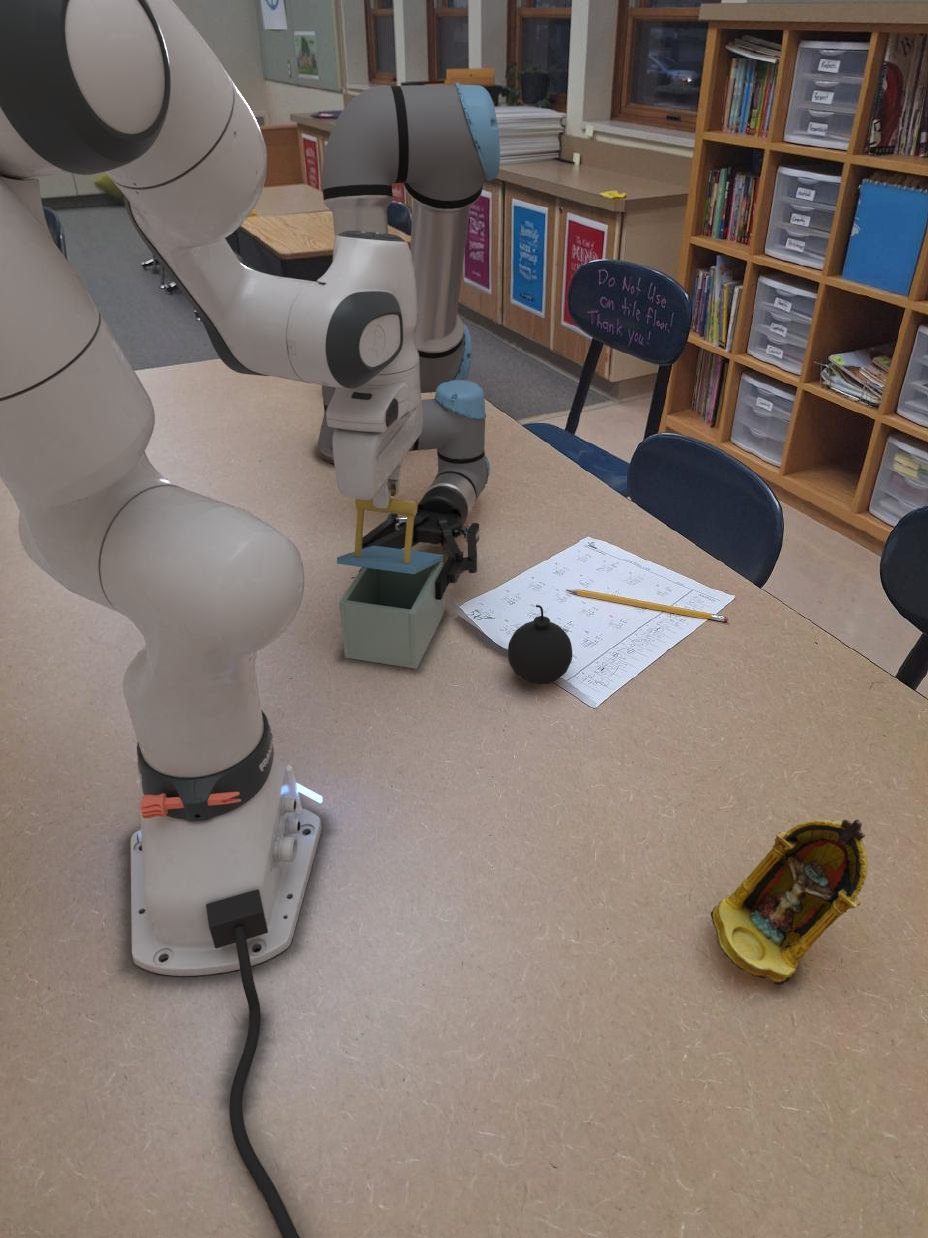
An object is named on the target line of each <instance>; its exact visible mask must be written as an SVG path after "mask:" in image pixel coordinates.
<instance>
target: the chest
mask: <svg viewBox="0 0 928 1238" xmlns="http://www.w3.org/2000/svg"><path fill="white" fill-rule="evenodd" d="M443 566H444V561H443V560H442V561H440V562H438V563H436V564H434V565H432V566H430V567H428V568H426V569H424V570H422V571H420V572H417V573H415V574H408V573H401V572H394V571H386V570H379V569H372V568H365V567H363V568H362V567H361V568H362V569H361V568H360V569H361V571H360V570H359V571H360V572H359V571H358V574H357V575H356V577H355V578H354V580H353V581H352V583H351V584H350V586H349V587H348V588H347V591H345V593H344V595H343V596H342V598H341V599H340V601H339V603H338V604H339V614H340V623H341V624H340V625H341V633H342V642H343V643H342V644H343V653H344V658H345V659H351V660H359V661H364V662H371V663H377V664H382V665H383V664H384V665H389V666H395V667H402V668H406V669H407V668H409V669H414V670H418V668H419V667H420V663H421V662H422V660H423V657H424V656H425V653H426V652H427V649H428V647H429V645H430V643H431V641H432V639H433V637H434V635H435V633H436V631H437V629H438V627H439V625H440V622H441V621H442V619H443V617H444V613H445V610H444V609H445V608H444V603H445V602H444V596H443V597H442V599H441V600H436V599H435V581H436V579H437V578H438V576H439V574H440V572H441V570H442V568H443Z"/></svg>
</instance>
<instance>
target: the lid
mask: <svg viewBox="0 0 928 1238" xmlns="http://www.w3.org/2000/svg"><path fill="white" fill-rule="evenodd" d="M354 505H355V509H356V510H357V511H356V524H355V525H356V526H355V541H354V551H352V552H349V553H346V554H343V555H340V556H336V564H337V565H343V566H349V567H350V566H351V567H356V568H357V567H359V568H362V567H365V568H372V569H379V570H386V571H394V572H401V573H408V574H415V573H417V572H420V571H422V570H424V569H426V568H428V567H430V566H432V565H434V564H436V563H438V562H440V561H443V557H444V554H441V553H434V552H433V553H432V552H426V551H418V550H412V547H413V546H412V536H413V524H414V516H415V515H416V513H417V505H418V502H417V501H410V500H404V499H395V498H391V502H390V504H389V505H388V507H387V508H385V509H384V508H376V507H375V506H374V504H373V498H372V499H371V500H358V499H355V503H354ZM365 511H368V512H369V511H370V512H377V513H387V514H390V513H393V514H398V515H402V516H406V518H407V525H406V537H405V547H404V548H402V549H396V548H388V547H381V546H371V547H368V548H364V549H362V538H363V537H364V534H363V533H364V521H365Z"/></svg>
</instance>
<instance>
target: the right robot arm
mask: <svg viewBox="0 0 928 1238" xmlns="http://www.w3.org/2000/svg"><path fill="white" fill-rule="evenodd" d="M496 113H497V112H496V108H495V105H494V101H493V99H492V96H491V94H490V92H489V90H487V88H485V87H484V86H482V85H478V84H460V82H455V83H454V84H432V85H431V84H428V85H427V84H426V85H424V84H423V85H422V84H421V85H419V84H418V85H417V84H416V85H389V84H383V85H375V86H373V87H369V88H367V89H365V90H363V91H361V92H360V93H358V94H357V95H355V97H353V98H352V99H351V100H350V101H349V102H348V103H347V104H346V105H345V107H344V108H343V109H342V111H341V112H340V114H339V116H338V117H337V119H336V121H335V122H334V125H333V127H332V129H331V131H330V134H329V137H328V140H327V144H326V147H325V149H324V150H325V151H324V155H323V160H322V167H321V168H322V169H321V188H322V190H321V191H322V199H323V204H324V205H325V207H327V208H328V209H329V210H330V211H331V214H332V223H333V232H334V233H333V234H334V237H335V236H336V235H337V234H340V233H342V232H345V231H363V232H376V233H385V234H389V224H388V211H387V210H388V207H389V206H390V205H391V204H392V202H393V200H394V194H393V184H403V187H404V190H405V192H406V194H407V195H408V196H409V197H410V198H411V199H412V211H411V212H412V213H411V229H410V245H409V248H410V251H411V255H412V260H413V265H414V271H415V279H416V288H417V302H418V324H417V328H416V332H415V343H416V347H417V350H418V353H419V362H420V390H421V394H430V393H435V394H434V398H427V399H422V411H423V428H422V433H421V435H420V436H419V437H418V439H417V440H416V441H415V443H414V444H413V445H412V447H411V448H410V449H409V451H408V452H414V451H427V450H436V455H437V473H436V475H435V478H434V479H433V480H432V481H431V484H430V485H429V487H428V488H427V489H426V491H425V493H424V494H423V496H422V497H421V499H420V500H419V502H418V503H417V513H416V515H415V516H414V524H413V536H412V547H414V546H417V545H418V544H420V543H421V544H431V545H436V546H439V545H440V548H441V549H442V551H443V552H444V553H445V555H446V557H447V559H446V560H445V562H444V563H443V568H442V570H441V572H440V574H439V576H438V578H437V579H436V581H435V599H436V600H441V599H442V597H443V598H444V596H445V593H446V591H447V589H448V587H449V585H450V584H456V583H457V582H458V581H459V578H460V576H461V574H463V573H464V571H465V572H466V571H468V573H470V574H475V573H477V572H478V549H477V548H478V547H477V546H478V545H477V544H478V542H479V541H480V523H478V522H472V523H471V524H470V526H468V525H465V524H466V523H467V520H468V518H469V516H470V514H471V513H472V510H473V509H474V507H475V505H476V503H477V500H478V499H479V498H480V495H481V494H482V492H484V490H485V488H486V485H487V484H488V481H489V477H490V473H491V465H490V461H489V459H488V458H487V455H486V451H485V439H486V438H485V437H486V418H487V413H486V399H485V391H484V389H483V388H482V386H480V385H479V384H478V383H476V382H473V381H471V380H468V378H469V375H470V371H471V367H472V354H473V350H472V349H473V348H472V347H473V346H472V345H473V344H472V338H471V334H470V330H469V328H468V326H467V325H466V324H464V323H463V321H462V318H461V317H460V316H459V315H458V310H459V301H460V294H461V286H462V285H461V284H462V277H463V267H464V260H465V259H464V258H465V251H466V242H467V235H468V226H469V218H470V210H471V206H472V205H475V203H476V202H478V200H479V199H480V198H481V196H482V193H483V187H484V181H487V182H490V181H493V180H495V179H496V178H497V177H498V175H499V173H500V170H501V169H500V168H501V143H500V132H499V124H498V118H497V114H496ZM335 389H336V388H335V387H329V386H324V385H321V391H322V401H323V402H322V404H323V416H322V421H321V426H320V431H319V435H318V440H317V450H318V454H319V457H320V458H322V460H324V461H326V462H327V463H330V464H333V465H334V456H333V444H332V442H333V433H334V430H335V428H332V427H329V426H328V425H327V419H326V411H327V408H328V405H329V403H330V401H331V399H332V397H333V395H334V392H335ZM398 516H399V514H393V513H388V516H387V518H386V519H385V520H384V521H383V522H381V523H380V524H379V525H377V526H376V527H374V528H373V529H372V530H371V531H369V532H368V533H367V534H365V535H363V538H362V549H364V548H368V547H371V546H381V547H388V548H396V549H405V537H406V525H407V517H406V518H405V517H398ZM461 536H463V538H464V540H465V543H466V544H467V545H466V546H467V547H466V549H467V550H466V551H467V556H465V557H464V551H463V550H461V549H460V547H459V545H458V543H457V541H456V539H457V538H459V537H461ZM362 568H363V567H360V569H359V571H358V573H359V572H360V571H361V569H362Z"/></svg>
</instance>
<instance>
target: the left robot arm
mask: <svg viewBox="0 0 928 1238" xmlns="http://www.w3.org/2000/svg"><path fill="white" fill-rule="evenodd" d="M257 121H258V120H257V119H256V116H255V115H254V113H253V111H252V110H251V108H250V106H249V104H248V103H247V101H246V99H245V98H244V96H243V95H242V93H241V92H240V90H239V89H238V87H237V86H236V84H235V82H234V81H233V79H232V78H231V77H230V75H229V74H228V72H227V70H226V69H225V67H224V66H223V64H222V63H221V61H220V60H219V58H218V57H217V56H216V54H215V53H214V51H213V50H212V49H211V47H210V46H209V45H208V43H207V42H206V41H205V39H204V38H203V37H202V35H201V34H200V33H199V31H198V30H197V28H196V27H195V26H194V25H193V24H192V23H191V21H190V20H189V19H188V18H187V16H186V15H185V14H184V12H183V11H182V10H181V8H180V7H179V5H177V4H176V3H175V2H174V0H0V480H1V481H2V482H3V484H4V486H5V487H6V488H7V490H8V492H9V493H10V495H11V497H12V498H13V500H14V502H15V504H16V506H17V509H18V510H19V514H18V521H17V522H18V523H17V527H18V537H19V539H20V543H21V546H22V548H23V549H24V552H25V553H26V555H27V557H29V559H30V560H31V561H32V562H33V563H34V564H36V565H37V566H38V567H39V568H40V569H41V570H42V571H44V572H45V574H47V575H48V576H49V577H50V578H52V579H53V580H55V582H57V583H58V584H59V585H61V586H62V587H63V588H65V589H66V590H68V591H69V592H71V593H73V594H76V595H77V596H80V597H82V598H84V599H87V600H89V601H92V602H93V603H95V604H98V605H100V606H103V607H104V608H107V609H109V610H111V611H113V612H116V613H119V614H121V615H123V617H125V618H128V620H130V621H131V623H133V625H134V626H135V627H136V629H138V631H139V632H140V634H141V635H142V637H143V639H144V643H145V646H144V647H142V648H141V650H139V651H138V652H137V654H135V657H134V658H133V659H132V660H131V662H130V664H129V665H128V667H127V668H126V669H125V670H126V671H125V673H124V675H123V678H122V694H123V697H124V700H125V703H126V707H127V710H128V714H129V717H130V721H131V724H132V727H133V730H134V733H135V737H136V741H137V743H136V744H137V745H136V756H137V758H136V759H137V762H136V763H137V772H138V778H137V780H136V782H135V783H136V785H137V788H138V791H139V807H140V810H139V811H140V828H139V829H137V830H136V831H135V832H134V833H133V834H132V836H131V838H130V916H131V917H130V924H131V925H130V926H131V927H130V928H131V931H130V933H131V934H130V935H131V955H132V960H133V963H134V965H136V966H137V967H139V968H140V969H143V970H146V971H148V972H150V973H153V974H160V975H164V976H174V977H175V976H176V977H194V976H206V975H216V974H222V973H223V974H224V973H228V972H234V971H238V970H239V971H240V975H241V976H240V977H241V981H242V987H243V991H244V995H245V998H246V1002H247V1007H248V1015H249V1016H248V1018H249V1019H248V1031H247V1036H246V1041H245V1045H244V1049H243V1051H242V1054H241V1057H240V1060H239V1062H238V1065H237V1068H236V1071H235V1073H234V1074H235V1075H234V1078H233V1082H232V1085H231V1091H230V1097H229V1119H230V1128H231V1131H232V1137H233V1140H234V1143H235V1147H236V1149H237V1151H238V1153H239V1155H240V1158H241V1160H242V1162H243V1164H244V1166H245V1168H246V1170H247V1171H248V1173H249V1174H250V1176H251V1178H252V1179H253V1181H254V1183H255V1184H256V1186H257V1188H258V1190H259V1191H260V1193H261V1195H262V1197H263V1199H264V1200H265V1202H266V1205H267V1206H268V1208H269V1211H270V1213H271V1215H272V1217H273V1219H274V1222H275V1224H276V1226H277V1228H278V1230H279V1232H280V1235H281V1238H300V1235H299V1234H298V1232H297V1231H298V1230H297V1229H296V1227H295V1225H294V1223H293V1220H292V1218H291V1216H290V1214H289V1212H288V1209H287V1208H286V1206H285V1203H284V1201H283V1200H282V1197H281V1196H280V1193H279V1192H278V1190H277V1188H276V1186H275V1184H274V1182H273V1181H272V1179H271V1178H270V1176H269V1174H268V1173H267V1171H266V1169H265V1168H264V1166H263V1164H262V1163H261V1161H260V1159H259V1157H258V1156H257V1154H256V1152H255V1151H254V1148H253V1146H252V1144H251V1141H250V1139H249V1136H248V1133H247V1130H246V1126H245V1120H244V1114H243V1093H244V1088H245V1083H246V1080H247V1077H248V1074H249V1072H250V1068H251V1065H252V1062H253V1059H254V1057H255V1054H256V1053H255V1052H256V1050H257V1046H258V1041H259V1036H260V1029H261V1006H260V999H259V995H258V992H257V988H256V984H255V981H254V975H253V969H252V967H253V966H256V965H258V964H261V963H264V962H266V961H268V960H271V959H272V958H274V957H276V956H278V955H280V954H281V953H282V952H284V951H285V950H287V949H288V948H289V947H290V945H291V944H292V942H293V941H292V940H293V937H294V934H295V930H296V927H297V924H298V920H299V916H300V912H301V908H302V905H303V902H304V897H305V893H306V889H307V886H308V882H309V878H310V874H311V871H312V867H313V864H314V860H315V857H316V853H317V850H318V846H319V841H320V838H321V834H322V828H323V825H322V822H321V818H320V817H319V816H318V815H317V814H316V813H315V812H312V811H310V810H309V809H306V808H303V805H302V802H301V796H300V794H303V795H304V796H306V797H308V798H310V799H312V800H314V801H315V802H316V803H319V804H322V802H323V796H322V795H320V794H318V793H316V792H314V791H313V790H311V789H308V788H307V787H305V786H304V785H302V784H300V783H298V782H297V779H296V776H295V772H294V771H295V770H294V768H293V766H291V765H290V764H289V763H288V762H287V761H286V760H284V759H283V758H281V757H280V756H279V755H278V753H276V752H275V749H274V739H273V738H274V737H273V732H272V728H271V726H270V723H269V720H268V718H267V715H266V714H265V712H264V710H263V709H262V705H261V699H260V693H259V686H258V678H257V672H256V658H257V653H258V652H259V651H261V650H263V649H265V648H266V647H269V645H271V644H272V643H274V642H275V641H276V640H278V639H279V638H280V637H281V636H282V635H283V634H284V633H285V632H286V630H287V629H288V628H289V627H290V626H291V624H292V622H294V619H295V618H296V616H297V613H298V611H299V609H300V607H301V605H302V600H303V597H304V591H305V571H304V570H305V569H304V563H303V559H302V555H301V553H300V550H299V549H298V546H297V545H296V544H295V542H294V541H293V540H292V539H290V537H288V536H287V535H286V534H283V533H282V532H280V531H279V530H278V529H277V528H275V527H273V526H272V525H270V524H269V523H268V522H266V521H264V520H263V519H261V518H259V517H258V516H256V515H255V514H253V513H251V512H250V511H248V510H247V509H244V508H242V507H238V506H235V505H233V504H229V503H228V502H227V503H226V502H224V501H221V500H219V499H215V498H212V497H209V496H206V495H203V494H200V493H197V492H195V491H191V490H188V489H186V488H184V487H181V486H179V485H177V484H175V483H173V482H172V481H171V480H169V479H168V478H167V477H165V476H164V475H163V474H162V473H161V472H159V470H158V469H156V468H155V466H154V465H153V464H152V462H151V461H150V460H149V458H148V455H147V453H146V449H147V447H148V445H149V443H150V440H151V439H152V435H153V432H154V429H155V425H156V424H155V423H156V414H155V408H154V405H153V401H152V399H151V397H150V395H149V393H148V391H147V390H146V388H145V387H144V384H143V383H142V382H141V380H140V377H139V376H138V375H137V373H136V371H135V369H134V367H133V366H132V364H131V363H130V361H129V359H128V358H127V355H126V354H125V353H124V350H123V349H122V348H121V345H120V343H119V342H118V340H117V338H116V337H115V335H114V334H113V332H112V330H111V328H110V326H109V325H108V323H107V322H106V320H105V319H104V317H103V315H102V313H101V311H100V310H99V308H98V307H97V305H96V303H95V301H94V300H93V298H92V296H91V295H90V293H89V291H88V290H87V288H86V287H85V285H84V283H83V282H82V280H81V279H80V277H79V276H78V274H77V273H76V271H75V269H74V268H73V267H72V265H71V263H70V262H69V261H68V259H67V258H66V256H65V255H64V253H62V251H61V250H60V248H59V247H58V246H57V244H56V243H55V241H54V239H53V237H52V235H51V231H50V229H49V226H48V223H47V219H46V216H45V212H44V211H45V210H44V207H43V202H42V196H41V186H40V179H38V178H39V177H50V176H56V175H61V174H68V173H70V174H75V175H79V176H91V175H97V174H101V173H105V174H106V175H107V176H108V178H109V179H110V180H111V181H112V183H113V184H115V186H116V187H117V188H118V189H119V190H120V192H121V193H122V194H123V201H124V207H125V209H126V210H125V211H126V213H127V215H128V217H129V220H130V222H131V224H132V226H133V227H134V229H135V230H136V232H137V234H138V235H139V236H140V238H141V240H142V241H143V242H144V244H145V246H146V247H147V248H148V250H149V251H150V252H151V254H152V255H153V256H154V258H155V259H156V260H157V262H158V263H159V264H160V266H161V267H162V269H164V271H165V272H166V274H167V275H168V276H169V277H170V279H171V280H172V281H173V283H174V284H175V285H176V286H177V288H178V289H179V290H180V292H181V294H182V295H183V296H184V297H185V298H186V299H187V301H188V303H189V304H190V305H191V306H192V308H193V309H194V310H195V312H196V314H197V315H198V317H199V319H200V321H201V323H202V324H203V326H204V328H205V331H206V333H207V336H208V339H209V341H210V342H211V343H210V344H211V345H212V347H213V349H214V351H215V352H216V354H217V356H218V358H219V359H220V360H221V361H222V362H223V364H224V365H225V366H226V367H228V368H229V369H230V370H231V371H234V372H235V373H238V374H241V375H251V376H263V377H273V378H279V379H284V380H291V381H295V382H300V383H306V384H315V385H320V386H322V385H324V386H329V387H335V388H336V389H335V392H334V395H333V397H332V399H331V401H330V403H329V405H328V408H327V411H326V419H327V425H328V426H329V427H332V428H335V430H334V433H333V442H332V444H333V456H334V464H333V465H334V471H335V477H336V479H335V480H336V484H337V488H338V491H339V492H340V494H341V495H342V496H343V497H344V498H347V499H351V500H356V499H358V500H371V499H372V498H373V504H374V506H375V507H376V508H384V509H385V508H387V507H388V505H389V504H390V502H391V499H392V497H395V496H396V495H397V494H398V493H399V491H400V490H401V482H400V481H401V479H400V478H401V474H402V468H403V463H404V457H405V456H406V455H407V454H408V452H410V451H409V449H410V448H411V447H412V445H413V444H414V443H415V441H416V440H417V439H418V437H419V436H420V435H421V433H422V428H423V411H422V400H423V399H422V393H421V390H420V362H419V353H418V350H417V347H416V343H415V332H416V328H417V324H418V302H417V288H416V279H415V271H414V265H413V260H412V255H411V251H410V244H409V243H408V242H407V241H406V240H405V239H403V238H402V237H401V236H400V235H397V234H393V233H388V234H385V233H376V232H363V231H345V232H342V233H340V234H337V235H336V236H335V235H334V239H333V240H334V241H333V249H332V262H331V264H330V266H329V267H328V268H327V270H326V271H325V273H324V274H323V275H322V276H320V277H319V278H318V279H317V280H316V281H313V280H306V279H298V278H294V277H293V278H292V277H286V276H285V277H284V276H279V275H273V274H269V273H265V272H262V271H258V270H255V269H253V268H250V267H247V266H246V265H244V264H243V263H241V262H240V260H239V259H238V257H237V256H236V254H235V252H234V250H233V249H232V248H231V247H232V246H231V245H230V244H229V243H228V241H227V239H226V238H228V237H229V236H230V235H232V234H233V233H234V232H235V231H237V230H238V229H239V228H240V227H241V226H242V225H243V224H244V223H245V222H246V220H247V219H248V218H249V217H250V215H251V214H252V212H253V211H254V209H255V208H256V206H257V204H258V202H259V200H260V199H261V195H262V194H263V190H264V187H265V182H266V177H267V169H268V152H267V145H266V142H265V139H264V135H263V133H262V131H261V128H260V125H259V123H258V122H257ZM257 949H258V951H256V952H255V950H257ZM259 949H260V950H259ZM165 959H167V960H165ZM163 960H165V961H163ZM162 961H163V962H162Z"/></svg>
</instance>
